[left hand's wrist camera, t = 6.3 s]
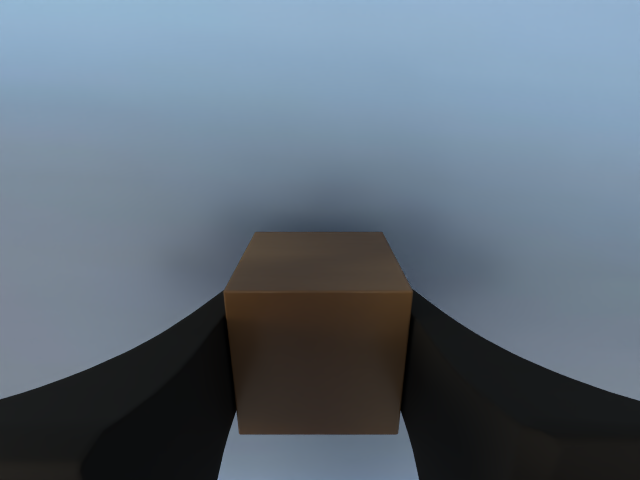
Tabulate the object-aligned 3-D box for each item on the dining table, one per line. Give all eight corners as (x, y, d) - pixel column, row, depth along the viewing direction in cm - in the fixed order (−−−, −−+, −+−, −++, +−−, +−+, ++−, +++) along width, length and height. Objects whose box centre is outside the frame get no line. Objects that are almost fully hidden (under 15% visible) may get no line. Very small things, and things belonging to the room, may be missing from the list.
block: (382, 231, 11) (413, 291, 8) (375, 340, 13) (398, 435, 9) (255, 231, 11) (222, 290, 8) (262, 340, 13) (238, 435, 9)
